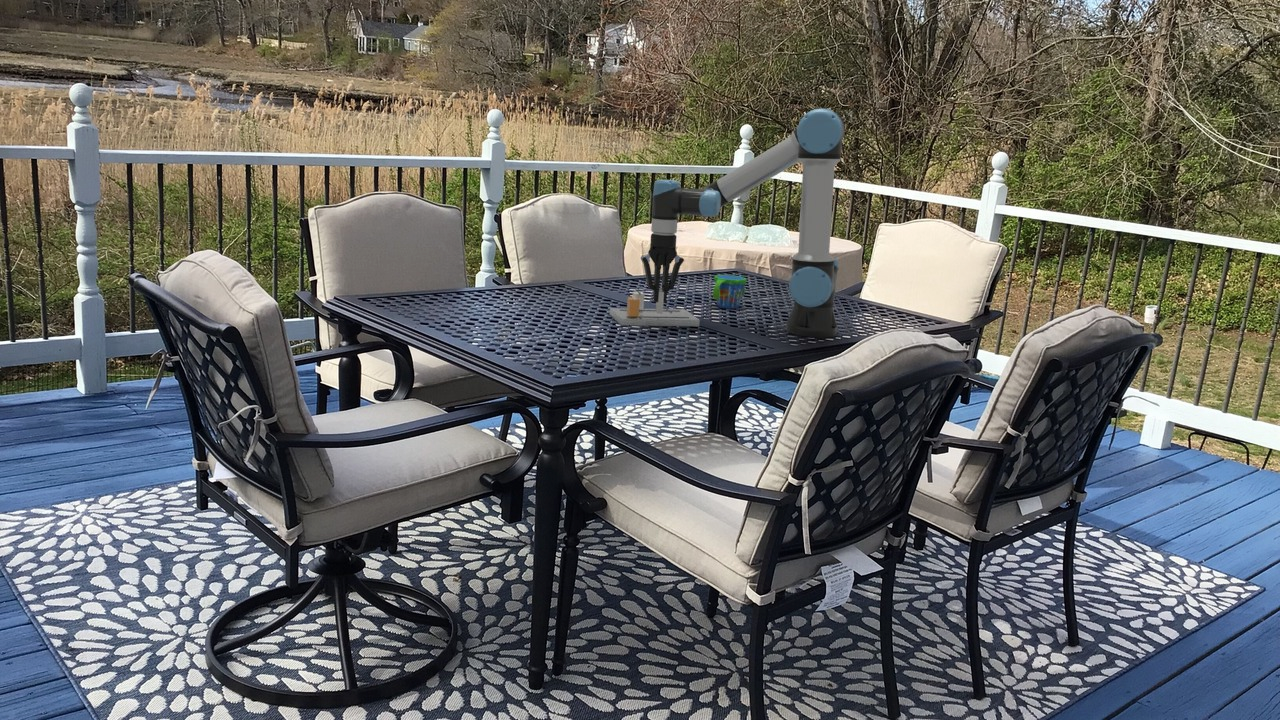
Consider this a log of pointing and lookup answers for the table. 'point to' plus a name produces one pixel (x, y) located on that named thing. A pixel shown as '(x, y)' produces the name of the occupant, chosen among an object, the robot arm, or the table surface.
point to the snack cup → (729, 290)
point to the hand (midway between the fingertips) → (659, 312)
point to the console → (655, 317)
